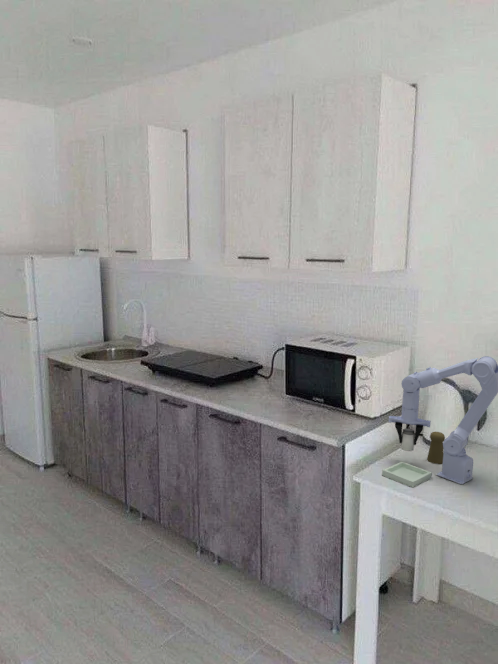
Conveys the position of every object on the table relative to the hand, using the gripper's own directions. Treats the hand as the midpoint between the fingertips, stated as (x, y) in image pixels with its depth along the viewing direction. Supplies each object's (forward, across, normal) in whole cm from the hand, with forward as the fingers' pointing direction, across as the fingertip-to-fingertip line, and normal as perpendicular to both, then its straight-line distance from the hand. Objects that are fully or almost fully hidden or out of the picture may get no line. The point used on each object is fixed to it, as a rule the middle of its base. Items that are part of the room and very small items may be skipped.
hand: (407, 443), depth 190 cm
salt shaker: (+2, 0, 0) cm, 2 cm away
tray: (+8, -1, +11) cm, 14 cm away
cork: (+8, -10, -8) cm, 15 cm away
